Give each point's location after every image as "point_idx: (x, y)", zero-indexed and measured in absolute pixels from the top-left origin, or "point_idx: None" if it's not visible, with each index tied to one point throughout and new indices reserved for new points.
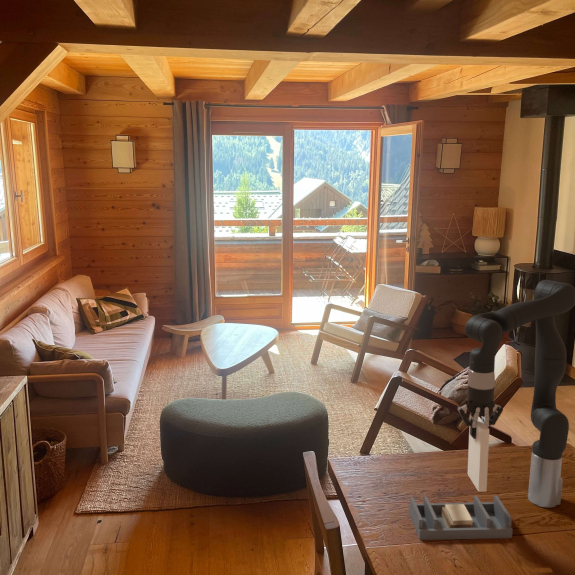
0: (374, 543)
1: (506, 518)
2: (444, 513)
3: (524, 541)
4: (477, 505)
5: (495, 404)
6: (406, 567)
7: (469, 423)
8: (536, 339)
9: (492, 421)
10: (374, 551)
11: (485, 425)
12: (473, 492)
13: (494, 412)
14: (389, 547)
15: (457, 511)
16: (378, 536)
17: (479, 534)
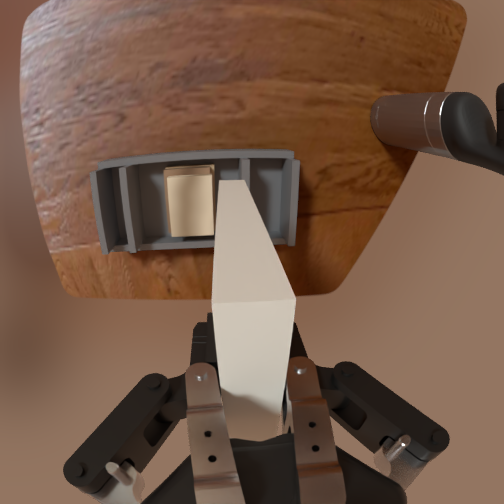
0: (56, 243)
1: (286, 233)
2: (165, 190)
3: (305, 234)
4: None
5: (411, 482)
6: (101, 293)
7: (174, 421)
8: None
9: (333, 415)
10: (59, 261)
11: (273, 426)
12: (270, 72)
13: (382, 435)
14: (76, 252)
15: (188, 204)
16: (60, 226)
17: None
